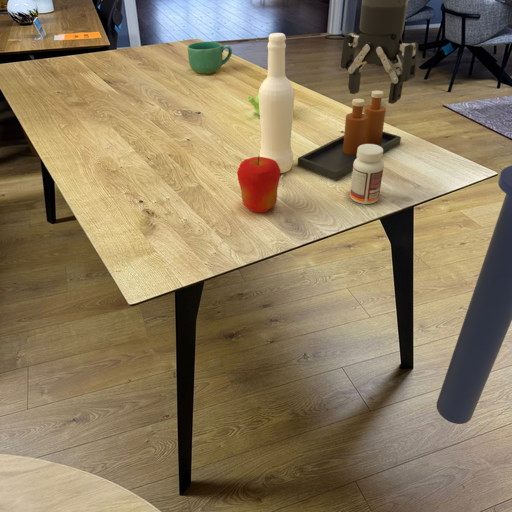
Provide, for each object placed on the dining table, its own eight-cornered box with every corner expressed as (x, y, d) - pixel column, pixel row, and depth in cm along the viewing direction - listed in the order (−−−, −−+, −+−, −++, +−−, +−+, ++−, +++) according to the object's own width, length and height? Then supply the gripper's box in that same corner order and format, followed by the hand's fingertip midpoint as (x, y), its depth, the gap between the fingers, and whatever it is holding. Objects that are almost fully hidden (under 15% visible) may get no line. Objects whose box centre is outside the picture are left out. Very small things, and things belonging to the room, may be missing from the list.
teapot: (255, 107, 150) (254, 79, 145) (291, 108, 148) (292, 81, 143) (247, 120, 141) (246, 91, 136) (286, 122, 139) (286, 93, 134)
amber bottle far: (384, 141, 125) (392, 91, 117) (373, 147, 122) (380, 97, 115) (368, 136, 128) (374, 87, 120) (356, 141, 125) (362, 92, 118)
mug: (191, 77, 176) (189, 50, 171) (188, 68, 186) (185, 42, 181) (235, 74, 179) (234, 47, 173) (230, 65, 189) (228, 39, 183)
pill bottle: (378, 192, 105) (385, 143, 98) (379, 206, 100) (386, 156, 93) (350, 190, 106) (355, 141, 99) (349, 203, 101) (354, 154, 94)
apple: (282, 198, 103) (282, 147, 96) (277, 218, 97) (277, 165, 90) (243, 195, 105) (241, 145, 98) (235, 215, 98) (232, 163, 91)
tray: (362, 132, 132) (363, 125, 130) (399, 144, 125) (401, 136, 124) (297, 165, 116) (297, 157, 115) (335, 180, 109) (336, 172, 108)
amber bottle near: (367, 150, 121) (374, 99, 113) (355, 157, 118) (361, 105, 110) (350, 145, 124) (355, 95, 116) (338, 151, 121) (343, 100, 113)
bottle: (256, 162, 118) (253, 30, 100) (287, 158, 119) (290, 28, 101) (263, 176, 112) (261, 39, 94) (296, 173, 113) (301, 36, 95)
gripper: (434, 2, 78) (417, 101, 88) (362, -6, 86) (353, 85, 96) (411, 9, 74) (395, 111, 84) (337, 0, 82) (330, 94, 92)
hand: (372, 97), depth 90 cm, fingers open, 8 cm apart
